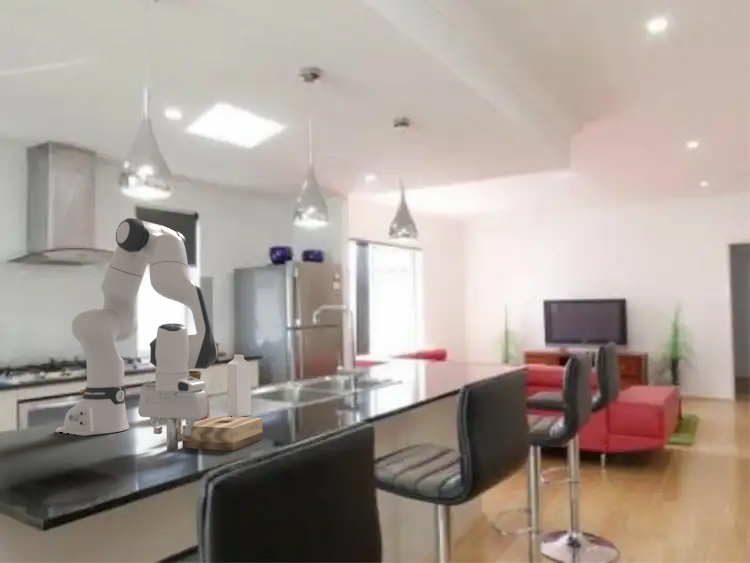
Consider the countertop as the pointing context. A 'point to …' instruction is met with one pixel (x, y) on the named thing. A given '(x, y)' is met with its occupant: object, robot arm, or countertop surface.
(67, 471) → the countertop surface
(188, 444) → the bore block
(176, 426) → the metal pin
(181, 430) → the birch dowel
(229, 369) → the milk
